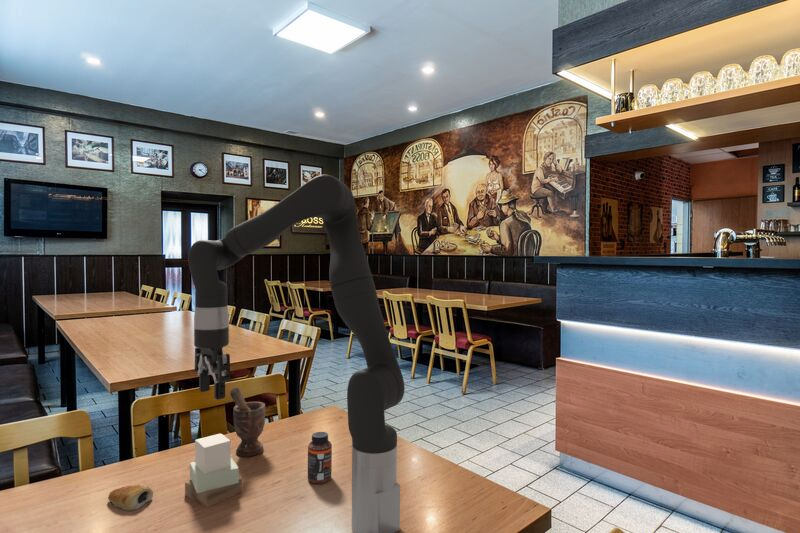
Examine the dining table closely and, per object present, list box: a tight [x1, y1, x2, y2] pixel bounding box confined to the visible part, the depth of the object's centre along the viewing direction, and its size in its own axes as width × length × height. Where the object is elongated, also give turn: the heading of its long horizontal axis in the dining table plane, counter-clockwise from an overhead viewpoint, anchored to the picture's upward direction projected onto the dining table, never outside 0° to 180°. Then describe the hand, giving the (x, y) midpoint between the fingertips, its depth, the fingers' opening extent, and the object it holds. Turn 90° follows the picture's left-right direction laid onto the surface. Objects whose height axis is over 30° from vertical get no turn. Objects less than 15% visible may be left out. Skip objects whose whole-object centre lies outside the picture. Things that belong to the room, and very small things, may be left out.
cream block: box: [194, 433, 232, 474], centre depth 110 cm, size 6×6×6 cm
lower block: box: [184, 476, 243, 508], centre depth 110 cm, size 9×9×4 cm
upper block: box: [189, 456, 240, 493], centre depth 110 cm, size 9×9×4 cm
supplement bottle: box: [307, 431, 333, 485], centre depth 117 cm, size 6×6×11 cm
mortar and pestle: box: [229, 387, 266, 458], centre depth 131 cm, size 12×9×20 cm
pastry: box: [107, 484, 154, 512], centre depth 106 cm, size 9×7×4 cm
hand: (211, 394), depth 109 cm, fingers open, 8 cm apart
